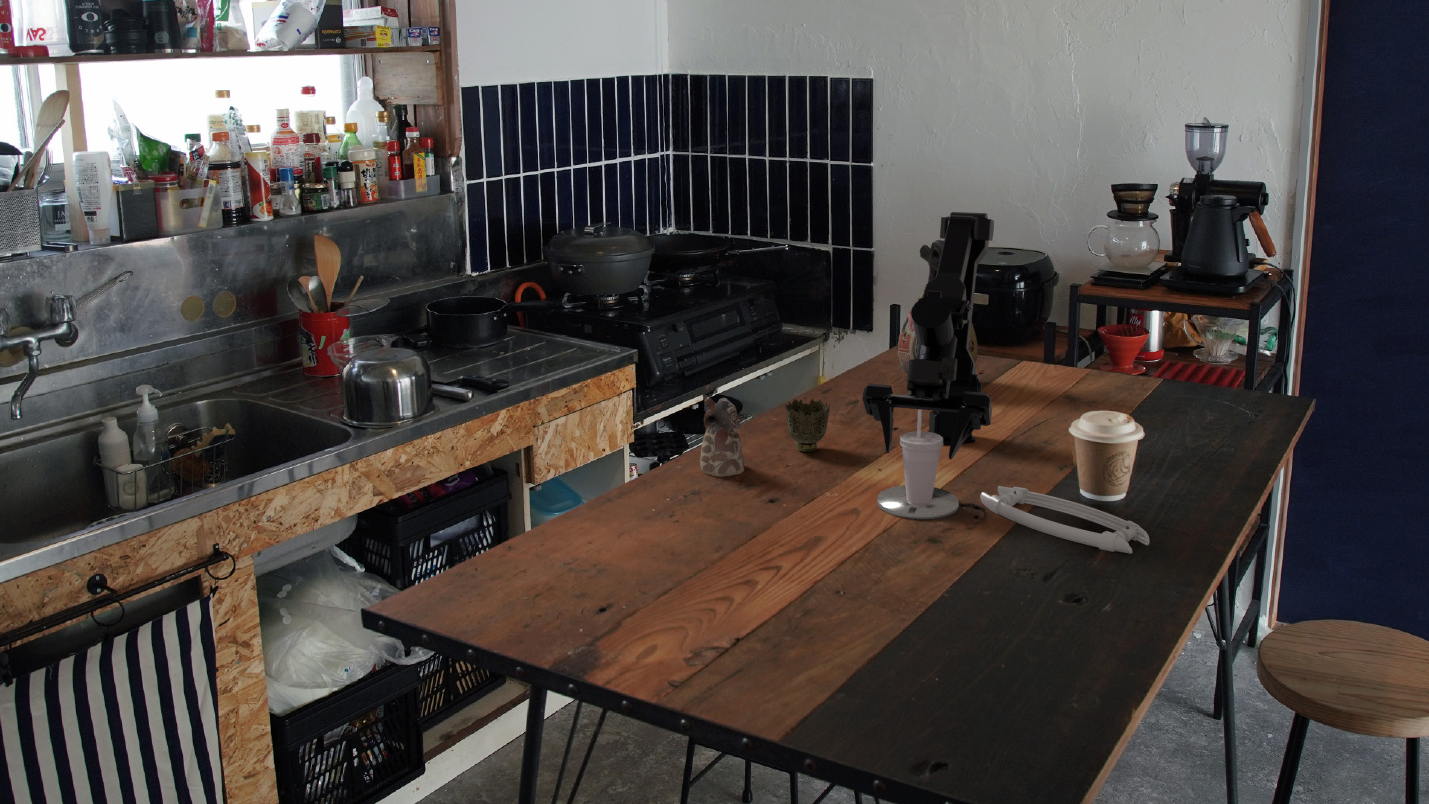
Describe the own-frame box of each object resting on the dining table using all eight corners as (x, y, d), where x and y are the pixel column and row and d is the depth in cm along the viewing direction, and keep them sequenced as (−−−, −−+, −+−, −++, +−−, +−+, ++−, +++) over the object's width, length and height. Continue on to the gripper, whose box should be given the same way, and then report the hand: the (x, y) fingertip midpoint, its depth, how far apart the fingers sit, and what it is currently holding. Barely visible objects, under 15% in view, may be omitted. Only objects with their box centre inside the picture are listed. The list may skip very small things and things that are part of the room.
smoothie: (888, 496, 186) (891, 407, 182) (921, 488, 189) (925, 400, 185) (916, 510, 180) (920, 418, 176) (950, 501, 184) (954, 411, 180)
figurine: (735, 478, 196) (735, 406, 193) (693, 474, 198) (692, 402, 195) (750, 464, 202) (750, 394, 199) (709, 460, 205) (708, 390, 201)
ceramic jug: (887, 379, 251) (892, 232, 242) (962, 376, 252) (969, 230, 244) (909, 403, 235) (915, 246, 226) (988, 400, 236) (997, 244, 227)
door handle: (1008, 495, 189) (1158, 542, 171) (968, 511, 183) (1119, 562, 165) (1009, 478, 189) (1160, 524, 171) (969, 494, 183) (1121, 543, 164)
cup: (829, 443, 212) (830, 398, 210) (828, 457, 205) (829, 411, 203) (785, 442, 213) (786, 397, 211) (783, 456, 206) (784, 410, 204)
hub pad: (885, 486, 192) (885, 481, 192) (963, 494, 188) (964, 490, 188) (869, 514, 181) (869, 509, 181) (952, 523, 178) (952, 518, 177)
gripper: (866, 331, 185) (848, 423, 178) (993, 340, 179) (980, 435, 172) (876, 369, 194) (859, 458, 187) (997, 378, 188) (984, 470, 181)
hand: (918, 455), depth 182 cm, fingers open, 9 cm apart
